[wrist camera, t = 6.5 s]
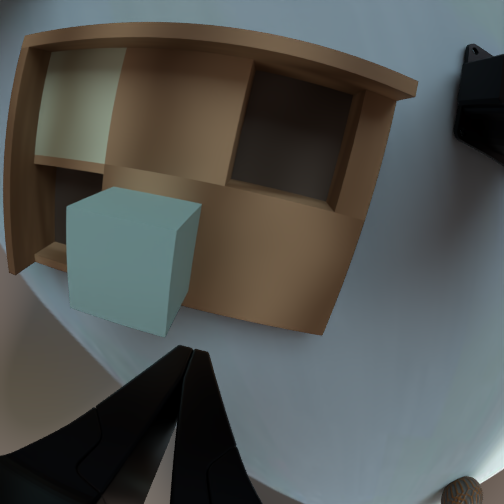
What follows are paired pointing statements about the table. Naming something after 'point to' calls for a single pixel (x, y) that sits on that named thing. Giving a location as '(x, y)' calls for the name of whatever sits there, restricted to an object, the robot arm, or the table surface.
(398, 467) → the table surface
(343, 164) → the box
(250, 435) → the table surface
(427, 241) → the table surface
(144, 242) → the block
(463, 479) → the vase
